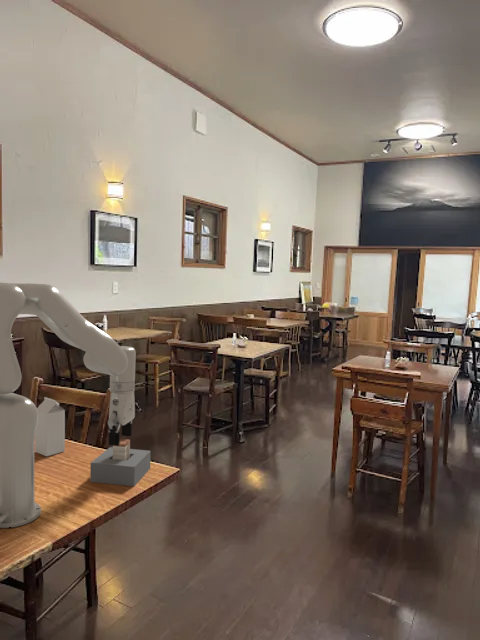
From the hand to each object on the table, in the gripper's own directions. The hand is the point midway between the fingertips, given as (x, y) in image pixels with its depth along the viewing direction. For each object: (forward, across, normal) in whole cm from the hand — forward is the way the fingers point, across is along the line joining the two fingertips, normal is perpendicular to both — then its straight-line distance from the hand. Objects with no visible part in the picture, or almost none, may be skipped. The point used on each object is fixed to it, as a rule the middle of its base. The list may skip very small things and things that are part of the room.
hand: (120, 440), depth 151 cm
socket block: (+11, +1, 0) cm, 11 cm away
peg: (+11, +1, 0) cm, 11 cm away
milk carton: (+12, +14, +32) cm, 36 cm away
